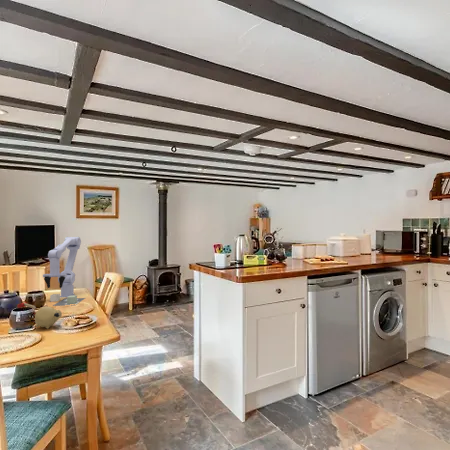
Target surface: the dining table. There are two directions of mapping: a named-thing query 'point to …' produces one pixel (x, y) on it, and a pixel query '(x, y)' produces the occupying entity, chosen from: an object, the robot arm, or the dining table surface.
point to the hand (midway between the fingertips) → (54, 287)
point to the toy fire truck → (25, 305)
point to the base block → (72, 299)
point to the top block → (54, 297)
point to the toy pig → (47, 317)
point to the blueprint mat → (64, 302)
